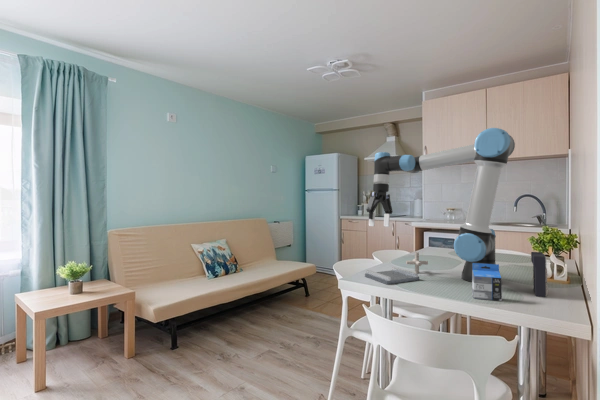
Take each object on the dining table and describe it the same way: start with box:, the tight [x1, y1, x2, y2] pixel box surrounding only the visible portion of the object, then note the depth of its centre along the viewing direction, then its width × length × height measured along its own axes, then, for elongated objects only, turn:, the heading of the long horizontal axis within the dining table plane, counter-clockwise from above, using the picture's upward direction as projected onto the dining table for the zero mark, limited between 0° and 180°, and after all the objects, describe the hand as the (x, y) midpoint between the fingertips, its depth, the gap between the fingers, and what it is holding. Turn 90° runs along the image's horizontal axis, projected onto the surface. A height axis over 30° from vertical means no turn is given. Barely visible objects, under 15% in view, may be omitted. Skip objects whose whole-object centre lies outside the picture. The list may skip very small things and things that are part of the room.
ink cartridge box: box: [471, 263, 503, 302], centre depth 118 cm, size 9×4×12 cm, turn 70°
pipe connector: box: [405, 251, 429, 274], centre depth 160 cm, size 10×10×10 cm
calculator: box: [530, 251, 549, 298], centre depth 124 cm, size 11×4×15 cm, turn 148°
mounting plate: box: [364, 266, 420, 285], centre depth 149 cm, size 16×18×3 cm
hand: (379, 226), depth 161 cm, fingers open, 13 cm apart
